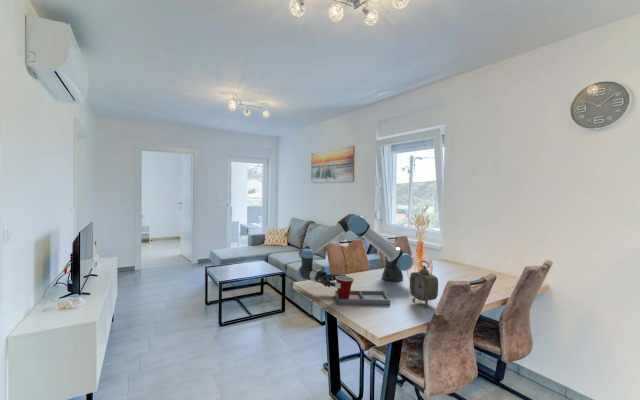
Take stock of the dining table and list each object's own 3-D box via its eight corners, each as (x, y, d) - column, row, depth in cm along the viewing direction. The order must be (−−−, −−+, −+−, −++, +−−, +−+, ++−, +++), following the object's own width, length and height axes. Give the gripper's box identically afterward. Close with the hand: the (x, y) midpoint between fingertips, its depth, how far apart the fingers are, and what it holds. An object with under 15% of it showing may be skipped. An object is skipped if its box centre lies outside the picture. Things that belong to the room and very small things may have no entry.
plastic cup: (351, 301, 171) (351, 280, 171) (333, 299, 174) (333, 278, 175) (355, 296, 181) (355, 276, 182) (337, 294, 185) (337, 274, 185)
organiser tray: (383, 295, 187) (384, 291, 187) (390, 305, 172) (390, 300, 171) (335, 295, 186) (335, 290, 186) (337, 304, 171) (337, 299, 171)
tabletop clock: (409, 300, 180) (410, 258, 179) (421, 298, 183) (423, 257, 182) (425, 309, 166) (427, 264, 166) (439, 307, 170) (440, 263, 169)
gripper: (330, 277, 202) (357, 284, 189) (305, 286, 183) (334, 294, 170) (330, 266, 202) (358, 272, 189) (305, 274, 183) (334, 281, 169)
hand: (346, 283), depth 179 cm, fingers open, 13 cm apart
